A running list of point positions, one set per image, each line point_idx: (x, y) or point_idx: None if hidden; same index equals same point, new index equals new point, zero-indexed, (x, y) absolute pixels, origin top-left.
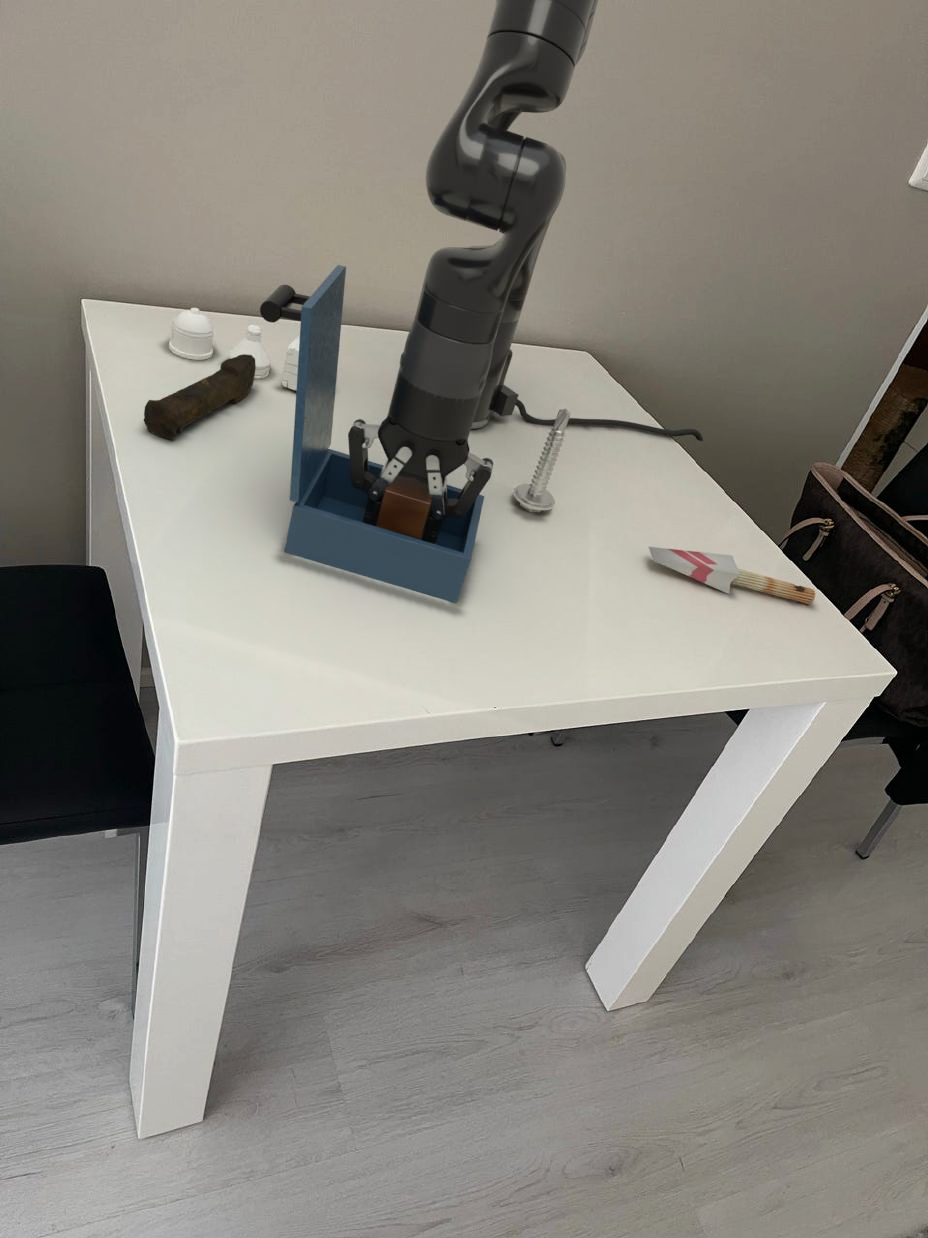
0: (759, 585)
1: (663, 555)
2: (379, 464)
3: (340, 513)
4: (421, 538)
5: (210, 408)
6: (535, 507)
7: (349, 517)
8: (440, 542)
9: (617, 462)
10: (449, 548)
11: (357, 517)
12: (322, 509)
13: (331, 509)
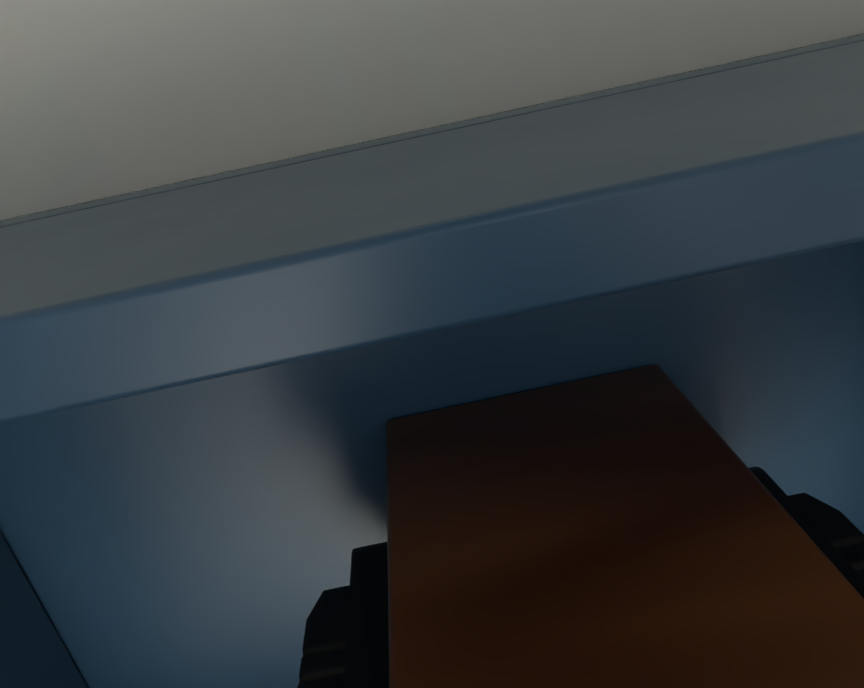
0: None
1: None
2: (17, 330)
3: (110, 421)
4: (655, 313)
5: None
6: None
7: (178, 419)
8: (781, 265)
9: None
10: (847, 286)
11: (215, 384)
12: (3, 458)
13: (40, 417)
